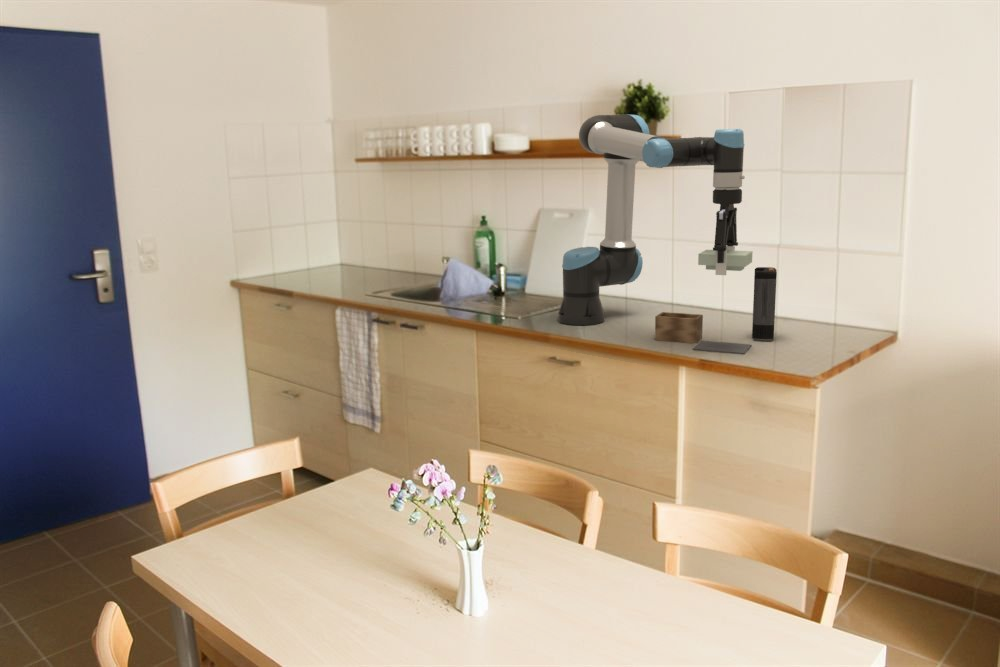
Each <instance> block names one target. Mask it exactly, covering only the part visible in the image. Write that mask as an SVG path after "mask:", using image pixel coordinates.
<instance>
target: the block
mask: <svg viewBox="0 0 1000 667" xmlns="http://www.w3.org/2000/svg"><path fill="white" fill-rule="evenodd" d="M726 251H727V268H726V271H730V272H731V271H732V272H741V271H743V270H744V269H745V268H746V267H748V266H749V265H750V264H752V263H753V252H754V251H752V250H749V251H748V250H735V251H732V250H726ZM697 255H698V256H697V257H698V259H697V260H698V261H697V264H698V266H705V270H707V271H709V270H712V271H716V251H713V249H705V250H703V251H701V252H699V253H698V254H697Z"/></svg>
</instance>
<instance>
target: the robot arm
mask: <svg viewBox="0 0 1000 667" xmlns="http://www.w3.org/2000/svg"><path fill="white" fill-rule="evenodd" d="M744 139H745V138H744V131H743V130H742V129H741V128H728V129H727V128H726V129H725V128H724V129H723V128H722V129H721V128H720V129H716V130H714V136H712V137H708V136H705V137H704V136H694V137H679V138H678V137H677V138H676V137H675V138H673V137H671V138H669V137H663V136H659V135H655V134H651V133H650V129H649V125H648V123H647V122H646V120H644V118H643V117H641V116H640V115H637V114H628V113H626V114H624V113H623V114H605V115H604V114H598V115H593V116H591V117H588V118H587V119H586V120H585V121H584V122H583V123H582V124H581V126H580V129H579V131H578V140H579V141H578V142H579V143H580V145H581V147H582V148H583V149H584V150H585V151H587V152H588V153H592V154H596V155H603V160H604V161H605V162H606V163H607V180H606V181H607V183H606V184H607V186H606V188H607V189H606V209H605V226H604V227H605V231H604V234H605V235H604V238H603V240H602V241H601V242H600V243H599V247H596V246H585V247H583V246H582V247H576V248H573V249H570V250H567V251H566V252H565V253H564V254H563V256H562V265H561V267H562V293H563V294H562V300H561V304H560V306H559V310H558V313H557V321H558V322H559V323H561V324H564V325H569V326H570V325H571V326H590V325H591V326H592V325H597V324H602V323H604V322H605V320H606V317H605V314H606V313H605V309H604V307H603V304H602V301H601V298H600V287H601V288H602V287H608V286H616V285H617V286H618V285H626V284H630V283H633V282H635V281H636V280H637V279H638V278H639V277H640V274H641V272H642V269H643V257H642V256H641V255H642V253H641V251H640V250H639V249H638V248H637V244H636V242H635V241H634V240H633V239H632V234H633V220H634V219H633V218H634V203H635V202H634V199H635V198H634V197H635V184H636V182H635V180H636V179H635V178H636V165H637V164H638V162H642V163H645V165H646V166H647V167H649V168H657V169H663V168H673V167H692V166H693V167H695V166H696V167H697V166H698V167H701V166H713V170H712V171H713V172H712V173H713V176H712V187H713V188H714V189H713V191H712V203H713V204H714V205H715V204H717V205H720V206H719V210H717V211H716V213H715V215H716V216H715V217H716V222H715V231H714V232H715V235H714V246H713V247H712V250H713V251H716V270H715V275H716V276H726V275H727V270H726V268H727V251H726V250H732V251H736V247H737V246H738V245H739V242H738V238H737V236H738V235H737V232H738V231H737V212H738V208H737V207H735V205H738V204H741V203H742V202H743V190H742V189H741V187H743V180H745V175H743V171H744V170H743V168H744V150H745V148H744V147H745V140H744Z"/></svg>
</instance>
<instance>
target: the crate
mask: <svg viewBox="0 0 1000 667" xmlns="http://www.w3.org/2000/svg"><path fill="white" fill-rule="evenodd" d="M703 318H704V315H703V314H697V313H684V312H682V313H681V312H668V311H661V312H660V313H658V314H657V315H656V316H655V319H654V320H655V322H654V324H655V325H654V328H655V329H654V330H655V331H654V341H660V342H661V341H664V342H674V343H675V342H676V343H686V344H698V343H699V342H700V341H702V339H703V323H704V322H703V321H704V320H703Z"/></svg>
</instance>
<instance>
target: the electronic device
mask: <svg viewBox="0 0 1000 667" xmlns="http://www.w3.org/2000/svg"><path fill="white" fill-rule="evenodd" d="M777 273H778V272H777V269H776V268H775V267H770V266H769V267H768V266H766V267H764V266H762V267H761V266H760V267H759V266H758V267H755V268H754V275H753V276H754V279H753V280H754V281H753V282H754V284H753V302H752V303H753V307H752V308H753V309H752V330H751V331H752V332H751V339H752V340H753V341H755V342H772V341H773V340H774V339H775V318H776V316H775V315H776V298H777Z"/></svg>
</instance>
